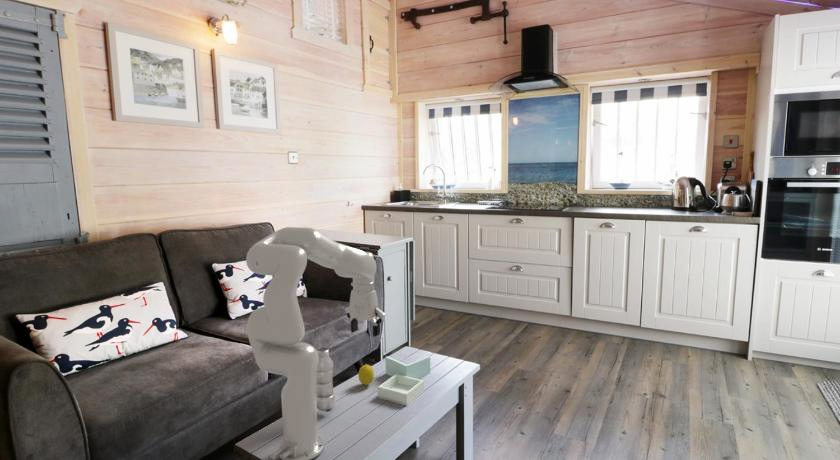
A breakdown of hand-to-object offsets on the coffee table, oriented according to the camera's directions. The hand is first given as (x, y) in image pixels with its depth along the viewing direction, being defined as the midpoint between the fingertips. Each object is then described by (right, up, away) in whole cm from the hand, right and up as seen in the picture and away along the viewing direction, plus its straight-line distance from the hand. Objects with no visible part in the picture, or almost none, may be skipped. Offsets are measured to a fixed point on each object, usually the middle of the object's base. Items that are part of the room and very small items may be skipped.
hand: (365, 333), depth 162 cm
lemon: (0, -20, +2) cm, 20 cm away
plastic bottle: (-11, -22, -14) cm, 28 cm away
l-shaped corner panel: (+15, -19, +10) cm, 26 cm away
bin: (+13, -20, -5) cm, 25 cm away
